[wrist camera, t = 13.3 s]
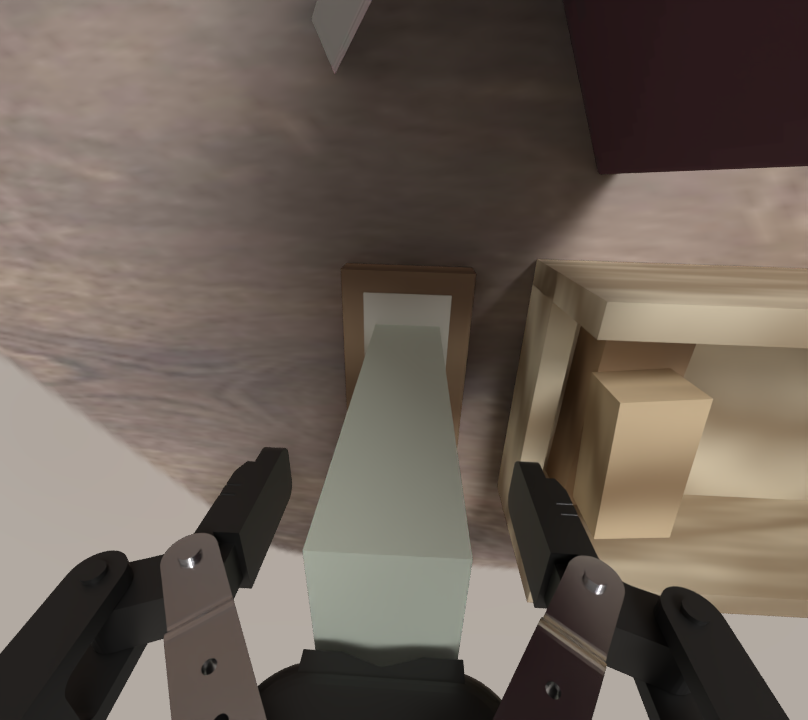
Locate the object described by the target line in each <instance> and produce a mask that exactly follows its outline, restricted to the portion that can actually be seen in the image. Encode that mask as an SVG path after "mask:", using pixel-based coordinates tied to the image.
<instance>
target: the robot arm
mask: <svg viewBox="0 0 808 720" xmlns="http://www.w3.org/2000/svg"><path fill="white" fill-rule="evenodd" d="M291 489H292V478H291V470H290V463H289V455H288V450H287V449H286V448H272V447H265V448H263V449H262V451H261V453H260V454H259V456H258V457H257V459H256V461H255V462H253V461H247V462H246V463H244V464H243V465H242V466H241V467H239V468H238V469H237V470H236V471H235V472H234V473H233V475H232V476H231V478H230V479H229V481H228V482H227V485H226V486H225V487H224V488H223V490H222V491H221V494H220V496H218V498H217V499H216V501H215V502H214V504H213V505H212V507H211V508H210V510H209V511H208V513H207V514H206V516H205V518H204V519H203V521H202V522H201V524H200V525H199V527H198V528H197V530H196V531H195V533H194V534H191V535H189V536H186V537H184V538H182V539H180V540H178V541H177V542H176V543H174V544H173V545H172V546H171V547H170V548H169V549H168V550H167V551H166V552H165V554H163V555H159V556H155V557H151V558H146V559H142V560H137V561H133V562H129V561H128V559H127V557H126V555H125V554H124V553H122V552H120V551H106V552H102V553H99V554H96V555H93V556H91V557H89V558H87V559H86V560H84V561H82V562H81V563H79V564H78V565H77V566H75V567H74V568H73V569H72V570H71V571H70V572H69V573H68V574H67V575H66V577H65V578H64V579H63V580H62V581H61V582H60V584H59V585H58V586H57V587H56V588H55V590H54V591H53V592H52V593H51V594H50V596H49V597H48V598H47V599H46V600H45V602H44V603H43V604H42V605H41V606H40V607H39V609H38V610H37V611H36V612H35V613H34V614H33V616H32V617H31V618H30V619H29V621H28V622H27V623H26V624H25V625H24V626H23V627H22V629H21V630H20V631H19V632H18V633H17V635H16V636H15V637H14V638H13V639H12V641H11V642H10V643H9V644H8V645H7V646H6V648H5V649H4V650H3V651H2V652H1V654H0V720H106V719H107V717H108V715H109V713H110V711H111V710H112V708H113V706H114V704H115V702H116V700H117V699H118V697H119V695H120V693H121V691H122V689H123V687H124V686H125V684H126V682H127V680H128V678H129V676H130V675H131V673H132V671H133V669H134V667H135V665H136V664H137V662H138V660H139V658H140V656H141V654H142V652H143V651H144V649H145V647H146V645H147V643H149V642H153V641H157V640H161V639H164V649H165V659H166V668H167V679H168V689H169V699H170V709H171V718H172V720H592V716H593V712H594V709H595V706H596V703H597V699H598V696H599V692H600V689H601V685H602V681H603V678H604V674H605V671H606V666H608V667H610V668H613V669H615V670H617V671H620V672H622V673H625V674H627V675H629V676H631V677H633V678H634V680H635V683H636V685H637V688H638V691H639V693H640V696H641V699H642V701H643V704H644V706H645V709H646V712H647V714H648V717H649V719H650V720H789V718H788V717H787V715H786V713H785V712H784V710H783V709H782V708H781V706H780V704H779V703H778V701H777V700H776V698H775V696H774V695H773V693H772V692H771V690H770V689H769V687H768V685H767V684H766V682H765V681H764V679H763V678H762V676H761V675H760V673H759V672H758V670H757V668H756V667H755V665H754V664H753V662H752V661H751V659H750V657H749V656H748V654H747V653H746V651H745V650H744V648H743V647H742V645H741V643H740V642H739V640H738V639H737V637H736V636H735V634H734V633H733V631H732V629H731V628H730V626H729V625H728V623H727V622H726V620H725V619H724V617H723V616H722V614H721V613H720V612H719V610H718V609H717V608H716V607H715V606H714V605H713V604H712V603H711V602H709V601H708V600H707V599H706V598H704V597H703V596H701V595H700V594H698V593H696V592H694V591H692V590H690V589H687V588H684V587H679V586H671V587H667V588H665V589H664V590H663V592H662V593H661V595H657V594H654V593H651V592H648V591H645V590H642V589H639V588H637V587H634V586H631V585H629V584H627V583H625V582H623V581H622V580H621V578H620V577H619V575H618V574H617V573H616V572H615V571H614V570H613V569H612V568H611V567H610V566H609V565H608V564H606V563H605V562H603V561H601V560H599V558H598V556H597V554H596V552H595V549H594V547H593V545H592V543H591V541H590V539H589V537H588V535H587V533H586V531H585V528H584V526H583V524H582V522H581V520H580V518H579V517H578V514H577V512H576V509H575V507H574V506H573V505H572V504H573V503H572V501H571V499H570V497H569V495H568V493H567V491H566V489H565V488H564V487H563V486H562V485H561V484H560V483H559V482H558V481H557V480H556V479H554V478H546V477H545V475H544V472H543V470H542V468H541V465H540V464H539V463H538V462H523V461H516V462H515V464H514V469H513V474H512V479H511V484H510V489H509V494H508V508H509V514H510V518H511V521H512V525H513V529H514V533H515V536H516V540H517V544H518V547H519V551H520V555H521V559H522V562H523V566H524V570H525V574H526V577H527V581H528V585H529V589H530V592H531V596H532V600H533V603H534V607H535V608H547V611H546V613H545V615H544V617H542V618H541V619H540V621H539V623H538V625H537V627H536V629H535V631H534V633H533V635H532V637H531V640H530V642H529V644H528V646H527V648H526V650H525V652H524V654H523V656H522V658H521V661H520V663H519V665H518V667H517V669H516V671H515V673H514V675H513V677H512V680H511V682H510V684H509V686H508V688H507V690H506V692H505V694H504V696H503V699H502V700H501V699H500V698H499V697H498V696H497V695H496V694H495V693H494V692H493V691H492V690H491V689H490V688H488V687H487V686H485V685H484V684H483V683H481V682H480V681H478V680H476V679H474V678H472V677H470V676H468V675H465V674H464V665H463V660H457V659H442V658H427V657H423V658H418V659H414V660H410V661H406V662H402V663H398V664H394V665H389V666H385V667H381V666H377V665H375V664H372V663H370V662H367V661H364V660H362V659H359V658H357V657H354V656H352V655H349V654H347V653H344V652H338V651H323V650H307V649H304V650H303V654H302V657H301V661H300V663H299V664H295V665H292V666H290V667H287V668H284V669H283V670H281V671H279V672H277V673H275V674H273V675H272V676H270V677H269V678H268V679H266V680H265V681H263V682H262V683H261V684H260V685H259V686H257V683H256V679H255V676H254V672H253V668H252V665H251V661H250V658H249V654H248V650H247V647H246V643H245V639H244V636H243V632H242V628H241V625H240V621H239V618H238V614H237V610H236V607H235V603H234V597H235V595H236V593H237V591H238V589H239V588H252V586H253V584H254V581H255V579H256V577H257V575H258V572H259V570H260V567H261V565H262V563H263V560H264V558H265V556H266V553H267V551H268V548H269V546H270V544H271V541H272V539H273V537H274V534H275V532H276V530H277V527H278V525H279V522H280V520H281V518H282V515H283V513H284V511H285V508H286V506H287V503H288V501H289V498H290V495H291Z"/></svg>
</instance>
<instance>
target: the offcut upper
mask: <svg viewBox="0 0 808 720" xmlns="http://www.w3.org/2000/svg"><path fill="white" fill-rule="evenodd" d="M712 401H713V398H711V397H710V396H708V395H707V394H706V393H704V392H703V391H701V390H700V389H699V388H697V387H696V386H694V385H693V384H692V383H690V382H689V381H688V380H686V379H685V378H683V377H682V376H681V375H679V374H678V373H676V372H675V371H674V370H672V369H671V368H663V369H643V370H623V371H603V372H591V378H590V385H589V392H588V398H587V405H586V412H585V418H584V425H583V431H582V438H581V445H580V451H579V458H578V465H577V471H576V478H575V484H574V491H573V498H574V500H575V502H576V504H577V506H578V508H579V510H580V512H581V514H582V516H583V518H584V520H585V522H586V524H587V526H588V528H589V530H590V532H591V534H592V536H593V538H594V539H622V538H670V535H671V532H672V528H673V525H674V522H675V519H676V516H677V513H678V509H679V506H680V503H681V500H682V497H683V493H684V490H685V487H686V484H687V481H688V478H689V474H690V471H691V468H692V465H693V462H694V459H695V455H696V452H697V449H698V446H699V443H700V440H701V436H702V433H703V430H704V427H705V424H706V420H707V417H708V414H709V411H710V408H711V405H712Z"/></svg>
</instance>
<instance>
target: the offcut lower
mask: <svg viewBox="0 0 808 720" xmlns="http://www.w3.org/2000/svg"><path fill="white" fill-rule="evenodd" d="M695 346H696V344H690V343H665V342H640V341H615V340H597V339H596V338H595V337H593V336H592V335H591V334H590V333H589V332H588V331H586V330H585V329H584V328H583V327H582V326H581V327H580V331H579V335H578V339H577V343H576V348H575V352H574V356H573V360H572V364H571V368H570V372H569V376H568V381H567V385H566V389H565V393H564V397H563V401H562V405H561V409H560V414H559V418H558V422H557V426H556V430H555V434H554V438H553V442H552V447H551V451H550V455H549V459H548V463H547V467H546V472H547V474H548V476H549V478H554V479H556V480H557V481H558V482H559V483H560V484H561V485H562V486H563V487H564V488H565V489H566V491H567V493H568V495H569V497H570V499H571V501H572V503H573V504H572V505H577V504H576V502H575V500H574V498H573V491H574V484H575V478H576V471H577V465H578V458H579V451H580V445H581V438H582V431H583V425H584V418H585V412H586V405H587V398H588V392H589V385H590V378H591V372H603V371H623V370H643V369H663V368H671V369H672V370H674V371H675V372H676V373H678V374H679V375H681V376H682V377H684V375H685V372H686V369H687V367H688V364H689V362H690V359H691V357H692V354H693V351H694V349H695Z"/></svg>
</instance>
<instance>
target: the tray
mask: <svg viewBox="0 0 808 720" xmlns="http://www.w3.org/2000/svg"><path fill="white" fill-rule="evenodd" d="M581 326H582V327H583V328H584V329H585V330H586V331H588V332H589V333H590V334H591V335H592V336H593V337H595V338H596V339H597V340H615V341H640V342H665V343H690V344H696V346H695V349H694V351H693V354H692V357H691V359H690V362H689V364H688V367H687V369H686V372H685V375H684V377H683V378H685V379H686V380H688V381H689V382H690V383H692V384H693V385H694V386H696V387H697V388H699V389H700V390H701V391H703V392H704V393H706V394H707V395H708V396H710V397H711V398H713V401H712V405H711V408H710V411H709V414H708V417H707V420H706V424H705V427H704V430H703V433H702V436H701V440H700V443H699V446H698V449H697V452H696V455H695V459H694V462H693V465H692V468H691V471H690V474H689V478H688V481H687V484H686V487H685V490H684V493H683V497H682V500H681V503H680V506H679V509H678V513H677V516H676V519H675V522H674V525H673V528H672V532H671V535H670V538H622V539H594V538H593V536H592V534H591V532H590V530H589V528H588V526H587V524H586V522H585V520H584V518H583V516H582V514H581V512H580V510H579V508H578V506H577V505H573V506H574V507H575V509H576V512H577V514H578V517H579V518H580V520H581V522H582V524H583V526H584V528H585V531H586V533H587V535H588V537H589V539H590V541H591V543H592V545H593V547H594V549H595V552H596V554H597V556H598V558H599V560H601V561H603V562H605V563H606V564H608V565H609V566H610V567H611V568H612V569H613V570H614V571H615V572H616V573H617V574H618V575H619V577H620V578H621V580H622V581H623V582H625V583H627V584H629V585H631V586H634V587H637V588H639V589H642V590H645V591H648V592H651V593H654V594H657V595H661V593H662V592H663V590H664V589H665V588H667V587H671V586H679V587H684V588H687V589H690V590H692V591H694V592H696V593H698V594H700V595H701V596H703V597H704V598H706V599H707V600H708V601H709V602H711V603H712V604H713V605H714V606H715V607H716V608H717V609H718V610H719V612H720V613H728V614H729V613H730V614H746V615H765V616H782V617H783V616H784V617H800V618H808V269H804V268H776V267H747V266H719V265H690V264H662V263H634V262H605V261H577V260H548V259H537V262H536V268H535V274H534V279H533V285H532V291H531V296H530V302H529V308H528V314H527V319H526V325H525V331H524V336H523V342H522V348H521V353H520V359H519V365H518V370H517V376H516V382H515V387H514V393H513V399H512V405H511V410H510V416H509V422H508V427H507V433H506V439H505V444H504V450H503V456H502V461H501V467H500V473H499V478H498V484H497V488H498V492H499V496H500V499H501V503H502V507H503V511H504V515H505V519H506V522H507V526H508V530H509V534H510V538H511V542H512V546H513V549H514V553H515V557H516V561H517V565H518V569H519V573H520V576H521V580H522V584H523V588H524V591H525V596H526V599H527V602H532V603H533V600H532V596H531V592H530V589H529V585H528V581H527V577H526V574H525V570H524V566H523V562H522V559H521V555H520V551H519V547H518V544H517V540H516V536H515V533H514V529H513V525H512V521H511V518H510V514H509V508H508V494H509V489H510V484H511V479H512V474H513V469H514V464H515V462H516V461H523V462H538V463H539V464H540V465H541V468H542V470H543V472H544V475H545V477H546V478H549V476H548V474H547V472H546V467H547V463H548V459H549V455H550V451H551V447H552V442H553V438H554V434H555V430H556V426H557V422H558V418H559V414H560V409H561V405H562V401H563V397H564V393H565V389H566V385H567V381H568V376H569V372H570V368H571V364H572V360H573V356H574V352H575V348H576V343H577V339H578V335H579V331H580V327H581Z"/></svg>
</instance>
